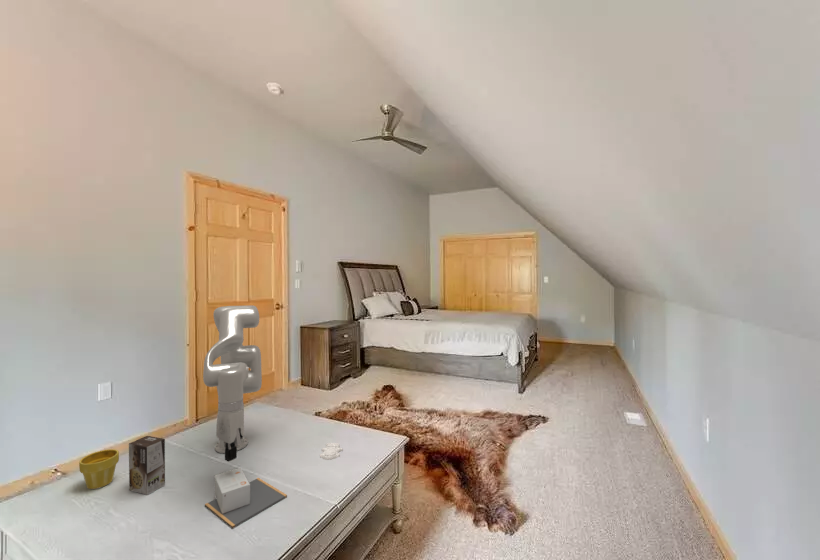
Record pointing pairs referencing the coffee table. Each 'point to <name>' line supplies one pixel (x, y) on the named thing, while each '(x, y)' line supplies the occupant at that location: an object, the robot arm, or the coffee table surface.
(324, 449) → the astronaut figurine
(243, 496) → the small box
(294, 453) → the coffee table surface
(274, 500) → the mat
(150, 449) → the coffee box
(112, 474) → the plant pot
